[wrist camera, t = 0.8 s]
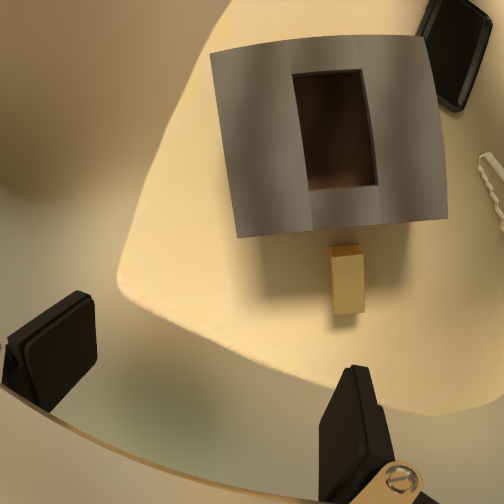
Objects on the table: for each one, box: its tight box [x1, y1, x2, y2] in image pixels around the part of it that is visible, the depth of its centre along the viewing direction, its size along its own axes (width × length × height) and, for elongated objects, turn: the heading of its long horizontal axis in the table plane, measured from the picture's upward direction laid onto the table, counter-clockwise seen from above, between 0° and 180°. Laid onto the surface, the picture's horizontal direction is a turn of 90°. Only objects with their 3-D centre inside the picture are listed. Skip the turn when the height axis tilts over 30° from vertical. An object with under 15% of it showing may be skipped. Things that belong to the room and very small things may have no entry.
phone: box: [415, 0, 493, 112], centre depth 23 cm, size 8×1×15 cm
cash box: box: [210, 35, 448, 238], centre depth 24 cm, size 16×14×9 cm
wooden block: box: [329, 244, 365, 315], centre depth 31 cm, size 3×6×4 cm, turn 8°
